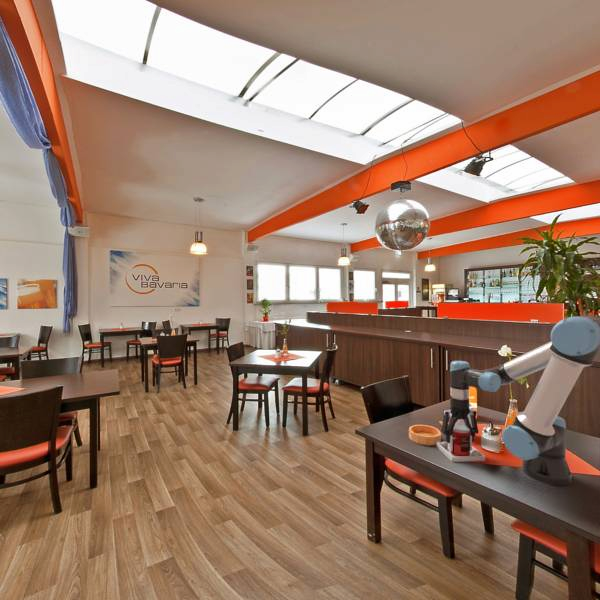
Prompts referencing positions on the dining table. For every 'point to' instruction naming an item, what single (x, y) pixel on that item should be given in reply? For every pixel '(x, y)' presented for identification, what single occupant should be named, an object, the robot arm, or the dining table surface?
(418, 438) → the bowl
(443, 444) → the pebble
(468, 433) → the canned food
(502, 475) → the dining table surface
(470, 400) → the orange juice
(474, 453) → the pebble
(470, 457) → the tray
